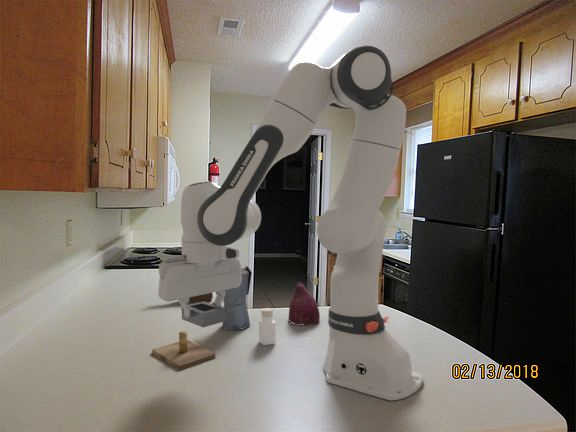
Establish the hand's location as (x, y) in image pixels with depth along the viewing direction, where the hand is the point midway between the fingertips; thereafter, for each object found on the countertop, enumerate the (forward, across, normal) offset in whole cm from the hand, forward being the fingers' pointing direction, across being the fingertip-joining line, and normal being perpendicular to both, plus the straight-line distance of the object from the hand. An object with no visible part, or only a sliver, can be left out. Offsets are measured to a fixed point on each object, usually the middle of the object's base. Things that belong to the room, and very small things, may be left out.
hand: (203, 313), depth 88 cm
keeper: (+14, +2, +12) cm, 19 cm away
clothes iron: (+13, +33, +59) cm, 69 cm away
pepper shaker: (+14, +23, +4) cm, 27 cm away
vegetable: (+14, +45, +10) cm, 48 cm away
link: (+2, 0, 0) cm, 2 cm away
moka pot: (+14, +26, +22) cm, 36 cm away
